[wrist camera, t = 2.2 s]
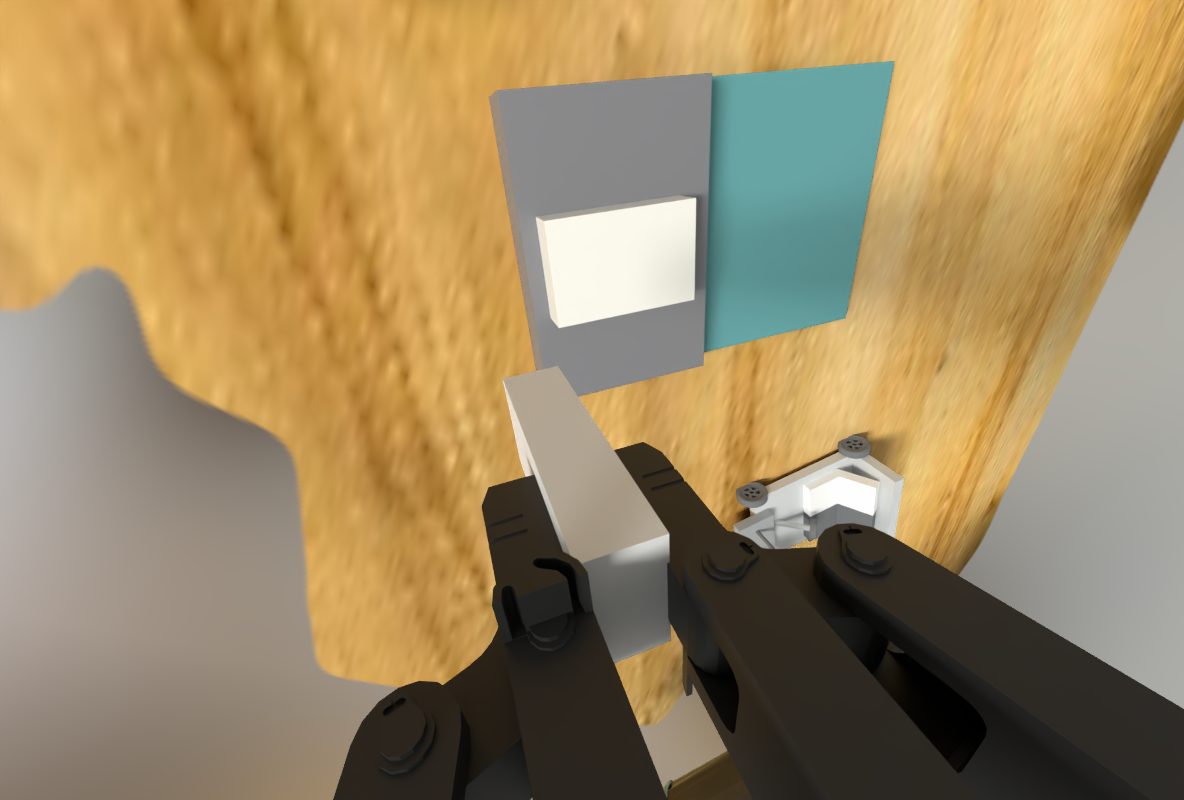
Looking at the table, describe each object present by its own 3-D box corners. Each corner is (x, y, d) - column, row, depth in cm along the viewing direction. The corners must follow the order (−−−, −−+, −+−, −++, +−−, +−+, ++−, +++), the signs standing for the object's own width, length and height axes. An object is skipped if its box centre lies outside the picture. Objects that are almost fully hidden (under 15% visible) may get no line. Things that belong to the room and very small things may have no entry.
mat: (836, 314, 40) (845, 318, 40) (694, 348, 37) (701, 352, 36) (881, 63, 31) (894, 61, 31) (700, 78, 28) (708, 76, 27)
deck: (683, 350, 37) (703, 365, 34) (538, 385, 34) (548, 403, 32) (685, 80, 28) (712, 72, 25) (489, 96, 25) (497, 90, 23)
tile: (679, 291, 31) (694, 299, 29) (550, 318, 29) (558, 328, 27) (679, 195, 28) (696, 197, 26) (535, 216, 26) (543, 221, 24)
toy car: (774, 645, 45) (769, 572, 38) (718, 568, 53) (707, 498, 47) (924, 566, 47) (942, 486, 41) (849, 505, 55) (854, 430, 49)
